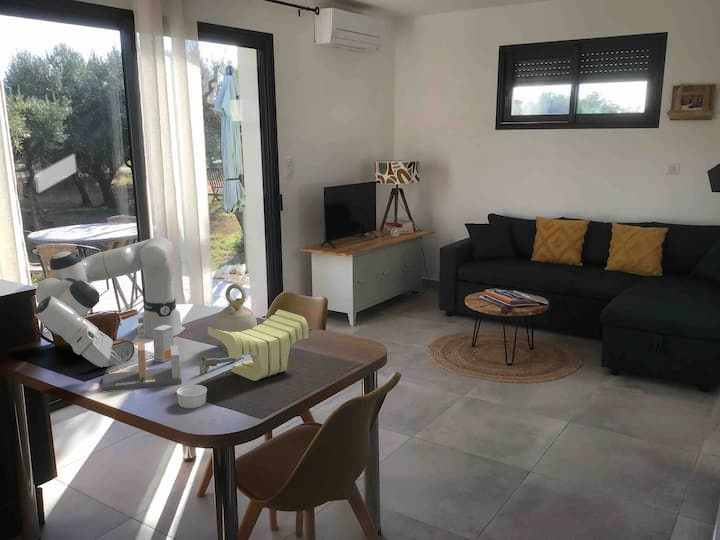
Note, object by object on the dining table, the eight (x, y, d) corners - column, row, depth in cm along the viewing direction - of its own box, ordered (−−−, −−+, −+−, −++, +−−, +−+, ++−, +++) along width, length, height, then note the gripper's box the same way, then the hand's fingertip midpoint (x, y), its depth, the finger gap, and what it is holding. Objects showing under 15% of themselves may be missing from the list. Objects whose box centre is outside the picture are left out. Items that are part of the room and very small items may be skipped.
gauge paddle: (139, 382, 197) (137, 352, 195) (139, 371, 207) (138, 342, 205) (146, 382, 198) (144, 352, 196) (146, 371, 207) (144, 342, 205)
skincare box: (164, 362, 221) (162, 330, 218) (154, 361, 222) (152, 329, 220) (174, 357, 226) (173, 325, 224) (164, 355, 228) (163, 324, 225)
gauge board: (101, 391, 194) (99, 363, 193) (104, 378, 206) (102, 350, 204) (181, 383, 202) (180, 355, 200) (179, 370, 213) (178, 344, 211)
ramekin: (198, 395, 193) (197, 382, 192) (213, 403, 187) (212, 390, 186) (171, 403, 187) (171, 389, 186) (186, 412, 181) (185, 398, 180)
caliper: (202, 376, 209) (201, 358, 208) (199, 375, 210) (199, 357, 208) (244, 359, 226) (243, 342, 225) (242, 358, 226) (241, 341, 225)
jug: (233, 339, 247) (230, 278, 242) (265, 345, 240) (264, 282, 235) (208, 350, 234) (205, 286, 228) (241, 357, 227) (239, 290, 222)
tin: (131, 357, 226) (130, 335, 224) (136, 359, 224) (135, 337, 222) (93, 369, 214) (91, 346, 212) (98, 371, 212) (96, 347, 210)
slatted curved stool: (238, 390, 196) (236, 336, 193) (209, 377, 207) (207, 326, 203) (308, 366, 218) (308, 317, 214) (279, 356, 228) (278, 309, 225)
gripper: (80, 333, 205) (114, 359, 210) (73, 354, 186) (110, 381, 191) (94, 319, 205) (127, 345, 210) (88, 338, 186) (125, 366, 191)
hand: (119, 362), depth 200 cm, fingers closed
